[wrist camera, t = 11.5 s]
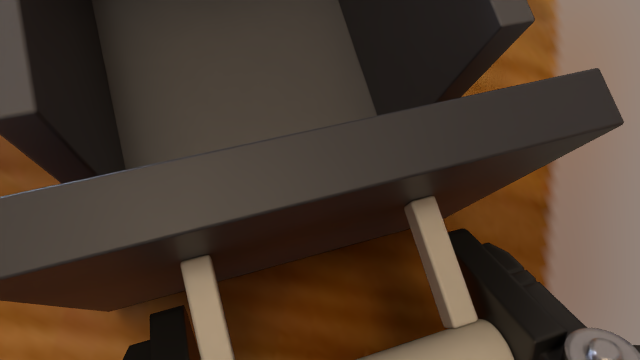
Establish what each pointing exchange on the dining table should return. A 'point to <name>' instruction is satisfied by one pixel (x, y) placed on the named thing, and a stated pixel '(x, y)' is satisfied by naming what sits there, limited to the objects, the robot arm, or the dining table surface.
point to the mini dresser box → (264, 145)
